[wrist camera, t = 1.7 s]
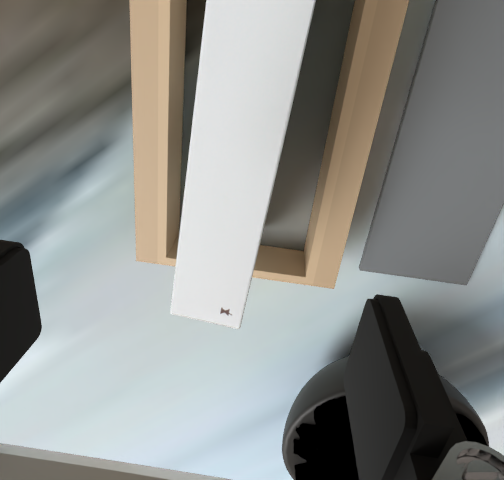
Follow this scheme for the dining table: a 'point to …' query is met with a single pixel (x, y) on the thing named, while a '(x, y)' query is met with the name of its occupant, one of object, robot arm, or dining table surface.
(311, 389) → the coal bowl
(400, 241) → the mat
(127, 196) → the dining table surface
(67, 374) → the dining table surface
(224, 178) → the skincare box
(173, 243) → the wooden frame
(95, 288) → the dining table surface
